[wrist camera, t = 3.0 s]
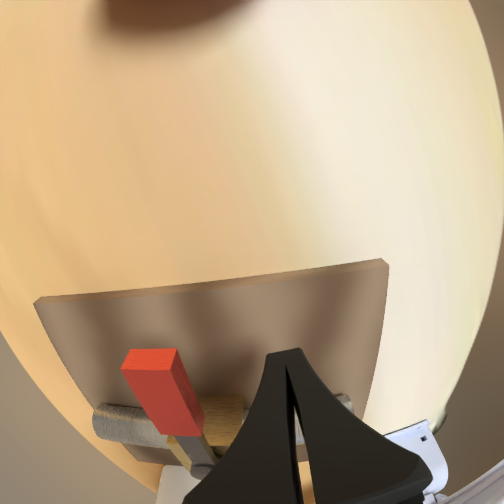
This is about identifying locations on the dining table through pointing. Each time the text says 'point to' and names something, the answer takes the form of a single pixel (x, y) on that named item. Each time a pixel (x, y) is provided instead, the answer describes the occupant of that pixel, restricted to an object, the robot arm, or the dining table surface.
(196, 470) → the valve lever
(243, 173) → the dining table surface
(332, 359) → the base board
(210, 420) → the valve pipe
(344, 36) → the dining table surface
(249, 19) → the dining table surface
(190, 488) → the can
